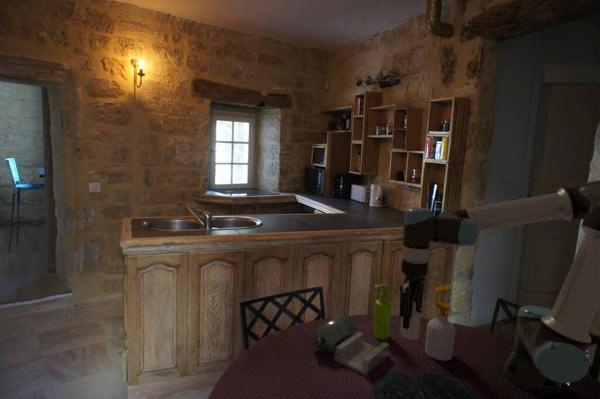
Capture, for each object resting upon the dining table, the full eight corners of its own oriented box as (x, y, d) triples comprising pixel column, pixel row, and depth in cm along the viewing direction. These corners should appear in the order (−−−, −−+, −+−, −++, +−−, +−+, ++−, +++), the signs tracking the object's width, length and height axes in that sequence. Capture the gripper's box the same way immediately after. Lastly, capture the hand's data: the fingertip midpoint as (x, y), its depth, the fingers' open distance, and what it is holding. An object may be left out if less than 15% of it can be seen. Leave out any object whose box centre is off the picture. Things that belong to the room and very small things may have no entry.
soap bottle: (455, 363, 123) (462, 292, 120) (426, 358, 125) (433, 289, 122) (449, 349, 132) (456, 283, 129) (423, 345, 134) (429, 280, 130)
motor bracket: (389, 355, 126) (391, 330, 125) (362, 378, 112) (364, 351, 111) (336, 332, 140) (337, 310, 139) (306, 351, 126) (307, 326, 125)
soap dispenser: (367, 332, 141) (371, 282, 138) (383, 330, 143) (387, 281, 140) (375, 340, 136) (379, 288, 133) (391, 338, 138) (396, 286, 135)
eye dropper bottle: (411, 331, 115) (414, 294, 114) (420, 340, 110) (423, 301, 108) (398, 331, 115) (401, 294, 113) (406, 341, 109) (409, 302, 108)
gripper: (414, 252, 118) (408, 321, 121) (390, 263, 105) (385, 340, 108) (437, 257, 113) (431, 329, 116) (415, 269, 100) (409, 350, 104)
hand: (409, 334), depth 112 cm, fingers closed on eye dropper bottle, 4 cm apart
